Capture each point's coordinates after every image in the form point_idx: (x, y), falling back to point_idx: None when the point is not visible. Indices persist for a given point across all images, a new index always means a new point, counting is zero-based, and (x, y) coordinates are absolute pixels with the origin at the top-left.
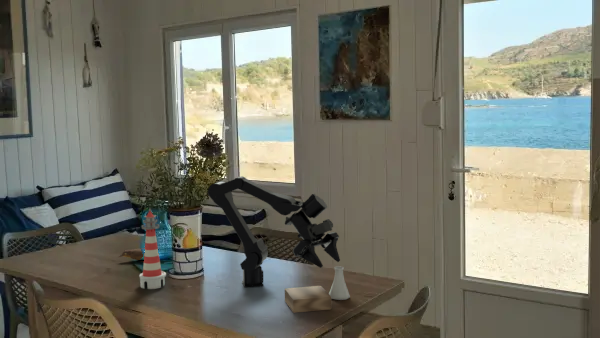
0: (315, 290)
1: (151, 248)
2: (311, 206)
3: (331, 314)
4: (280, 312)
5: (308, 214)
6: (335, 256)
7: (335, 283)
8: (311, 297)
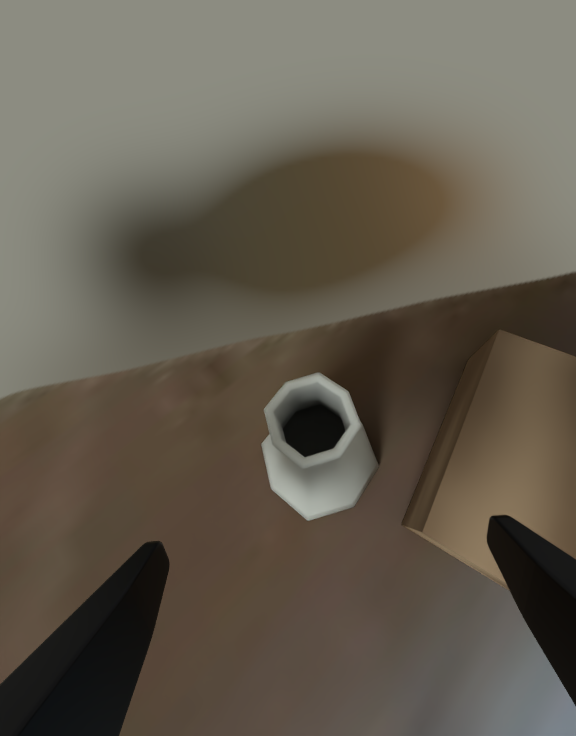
0: (521, 475)
1: None
2: None
3: (505, 318)
4: None
5: None
6: (123, 638)
7: (354, 439)
8: None
